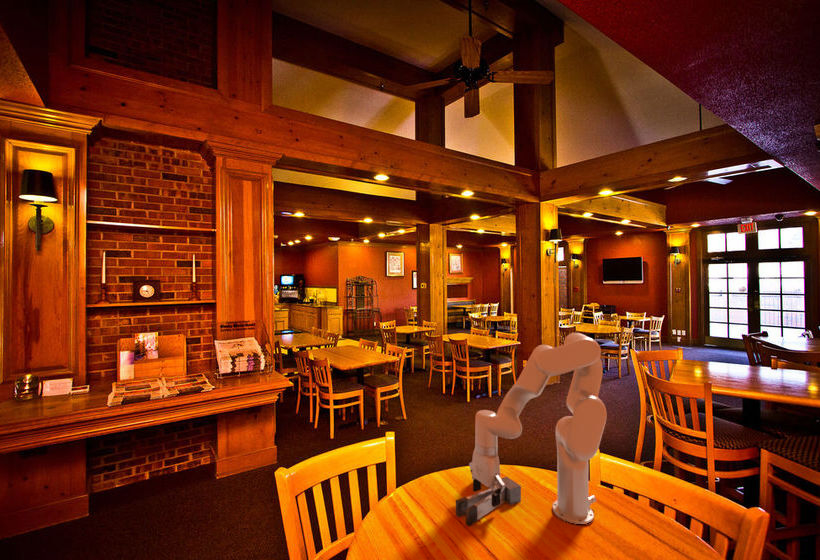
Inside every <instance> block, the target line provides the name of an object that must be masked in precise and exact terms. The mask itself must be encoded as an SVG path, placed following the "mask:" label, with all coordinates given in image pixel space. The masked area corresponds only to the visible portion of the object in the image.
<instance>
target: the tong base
mask: <svg viewBox="0 0 820 560" xmlns="http://www.w3.org/2000/svg"><path fill="white" fill-rule="evenodd" d="M500 478H501V480H502V481H503V483H504V484H505V489H504V495H505V502H504V503H506V504H507V505H509V506H513V505H515V504H517V503H518V504H519V503H520V502H521V501H522V500H521V499H522V496H521V495H522V494H521V493H522V486H521V484H519V483H517V482H516V481H514V480H513V479H511V478H509V477H508V476H505V477H500ZM494 488H495V490H497V488H496V486H494ZM492 493H493V492H492V489H491V488H488V489H486V490H483V491H482V490H481V491H478V492H477V493H474V494H472V495H468V496H464V497H461V498H459V499H456V500H455V516H456V517H457V518H460V517H463V516H466V509H467V508H469V507H471V506H472V505H474V504H476V503H478V502H479V501H481V500H483V499H484V498H486V497H488V496H489V495H491V494H492Z"/></svg>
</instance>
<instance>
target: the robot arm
mask: <svg viewBox="0 0 820 560" xmlns="http://www.w3.org/2000/svg"><path fill="white" fill-rule="evenodd" d="M563 342H564V343H563V344H562V345H559V346H555V347H552V346H551V345H547V344H540V345H538V346H536V347H535V348H534V349H533V351H532V353H531V354H530V356H529V357H528V360H527V362H526V364H525V366H524V367H523V369H522V371H521V373H520V374H519V377H518V378H517V380H516V381H515V383H513V385H512V387H511V388H510V389H509V390H508V391H507V393H506V394H505V396H504V398H503V399H502V401H501V404H500V405H499V407H498V409H497V412H495V411H492V410H488V409H480V410H479V411H477V412H476V413H475V417H474V418H475V428H474V429H475V430H474V431H475V434H474V435H475V437H474V438H475V440H474V442H475V444H474V445H475V446H474V449H473V452H472V460H471V462H469V463H468V466H469V470H470V473H471V479H472V491H473V493H475V492H480V491H482V485H484V486H485V487H486V488H488V489H490V488H491V489H492V492H493V494H492V506H493V507H494V506H497V505H499V504H500V494H501V493H502V492H503V491H504V489H505V484H504V483H503V481H502V480H501V478H502V477H501V467H500V458H499V454H498V450H499V448H498V447H499V446H498V438H499V437H500V438H504V439H509V440H513V439H517V438H519V437H520V436H521V435H522V431H523V425H522V423H521V420H520V418H519V417H520V414H521V413H522V411H523V409H524V408H525V406H526V404H527V403H528V402H529V401H531V400H532V399H534V398H537V397H539V396H540V395H541V394H542V392H543V390H544V389H545V387H546V384H548V382H549V379H550V378H551V377H554V376H560V375H564V374H567V373H570V372H573V374H572V379H571V384H570V386H569V390H568V393H567V396H566V407H567V409H568V410H569V411H570V413H571V414H572V415H566V416H563V417H562V418H560V419H558V421H557V423H556V425H555V440H556V442H555V444H556V456H557V457H556V458H557V460H556V462H557V463H556V466H557V467H556V469H557V471H556V472H557V474H556V476H557V479H556V481H557V485H556V486H557V488H556V489H557V493H556V494H557V499H556V500H555V501H554V502H553V503H552V511H553V513H554V515H555V516H556V517H557V518H559V519H560V518H561V519H560V520H562V519H563V520H562V521H564V522H566V521H567V522H566V523H568V522H570V523H569V524H571V523H575V524H574V525H576V524H585V523H589V522H591V521H592V520H593V518H594V519H595V514H594V511H593V510H592V508H591V505H592V504H593V503H595V502H597V498H596V496H595V495H589V461H590V460H591V459H593V458H594V456H595V455H596V454H597V453H598V450H599V447H600V445H601V441H602V437H603V433H604V430H605V427H606V422H607V417H608V415H607V413H608V412H607V408H606V405H605V403H604V402H603V400H602V399H600V398H599V393H600V391H601V383H602V380H603V371H604V370H603V369H604V368H603V363H602V359H601V354H602V349H601V346H600V344H599V343H598V342H597V341H596V340H595V339H593V338H592V337H589V336H587V335H585V334H583V333H580V332H572V333H569V334H567V336H566V337H565V339H564V341H563ZM497 454H498V455H497ZM494 483H495V484H494ZM494 487H496V488H497V490H495V488H494ZM590 515H591V516H590ZM593 521H594V520H593ZM593 521H592V522H593ZM592 522H591V523H592ZM589 524H590V523H589Z"/></svg>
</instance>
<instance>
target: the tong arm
mask: <svg viewBox="0 0 820 560" xmlns="http://www.w3.org/2000/svg"><path fill="white" fill-rule="evenodd" d="M492 494H493V493H492ZM492 494H491V495H489V496H488V497H486V498H484V499H483V500H481V501H479V502H478V503H476V504H474V505H472V506H471V507H469V508H467V509H466V515H465V524H466V525H467V526H468V527H470V526H472V525H473V524H475V523H476V522H478V521H479V520H480V519H482V517H484V516H486V515H487V514H489V513H491V512H492V511H493V510H495V509H497V508H498V507H499V506H501V505H503V504H504V503H506V502H505V495H504V491H503V492H502V493H501V494H500V504H499V505H497V506H494V507H493V506H492Z"/></svg>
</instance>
